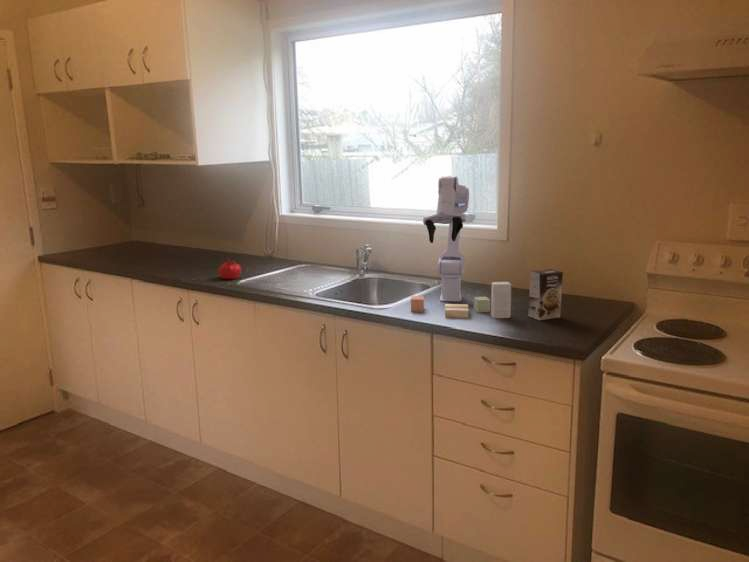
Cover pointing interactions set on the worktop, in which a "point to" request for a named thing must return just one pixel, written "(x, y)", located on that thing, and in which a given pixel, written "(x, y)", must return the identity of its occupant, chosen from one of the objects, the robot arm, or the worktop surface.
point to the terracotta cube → (417, 303)
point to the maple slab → (456, 310)
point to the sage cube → (481, 304)
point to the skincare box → (501, 300)
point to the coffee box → (545, 294)
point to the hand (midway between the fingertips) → (442, 240)
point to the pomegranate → (230, 270)
